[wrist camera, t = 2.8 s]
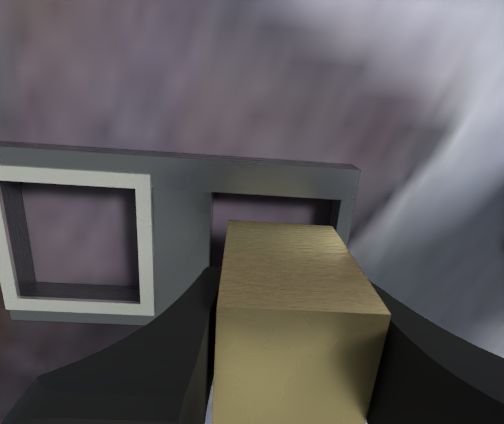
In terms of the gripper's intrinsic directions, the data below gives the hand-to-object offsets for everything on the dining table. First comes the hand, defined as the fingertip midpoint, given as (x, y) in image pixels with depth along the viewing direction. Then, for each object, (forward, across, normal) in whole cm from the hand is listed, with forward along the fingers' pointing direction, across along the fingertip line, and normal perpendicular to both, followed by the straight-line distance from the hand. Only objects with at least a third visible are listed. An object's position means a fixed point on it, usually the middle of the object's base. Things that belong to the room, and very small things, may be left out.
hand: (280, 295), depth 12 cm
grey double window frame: (+4, +4, 0) cm, 6 cm away
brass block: (+2, 0, 0) cm, 2 cm away
